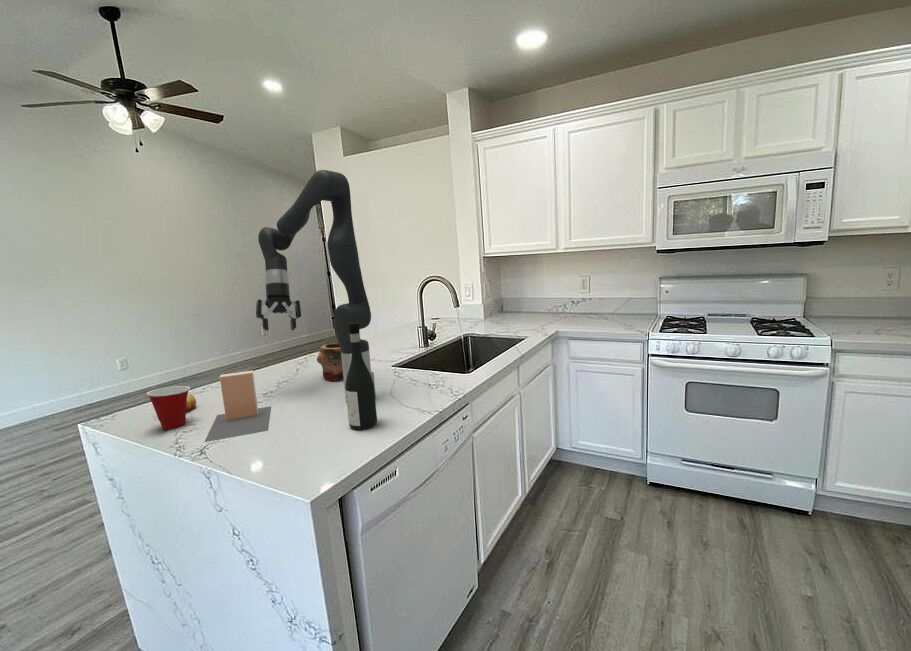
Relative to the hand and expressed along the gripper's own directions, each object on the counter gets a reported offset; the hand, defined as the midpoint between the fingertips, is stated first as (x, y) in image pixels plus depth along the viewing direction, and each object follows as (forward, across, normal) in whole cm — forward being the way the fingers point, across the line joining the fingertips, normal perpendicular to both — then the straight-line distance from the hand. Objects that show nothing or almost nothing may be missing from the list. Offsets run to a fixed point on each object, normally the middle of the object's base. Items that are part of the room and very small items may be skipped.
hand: (280, 330), depth 145 cm
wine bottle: (+34, +13, -33) cm, 49 cm away
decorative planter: (+18, +26, +17) cm, 36 cm away
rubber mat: (+30, -14, -5) cm, 33 cm away
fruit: (+24, -28, +22) cm, 43 cm away
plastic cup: (+28, -30, +7) cm, 42 cm away
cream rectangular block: (+28, -13, -1) cm, 30 cm away
